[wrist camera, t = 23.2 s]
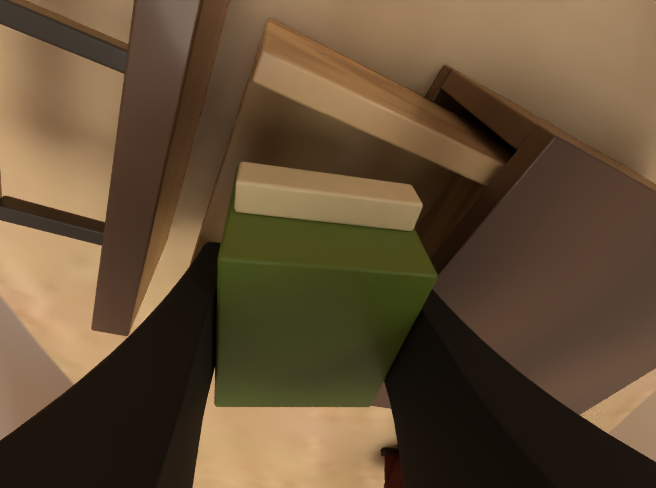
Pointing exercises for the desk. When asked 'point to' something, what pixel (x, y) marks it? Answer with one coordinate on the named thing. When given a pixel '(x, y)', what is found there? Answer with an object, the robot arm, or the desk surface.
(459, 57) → the desk surface
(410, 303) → the green block
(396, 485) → the mate gourd
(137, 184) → the drawer
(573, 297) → the cabinet
